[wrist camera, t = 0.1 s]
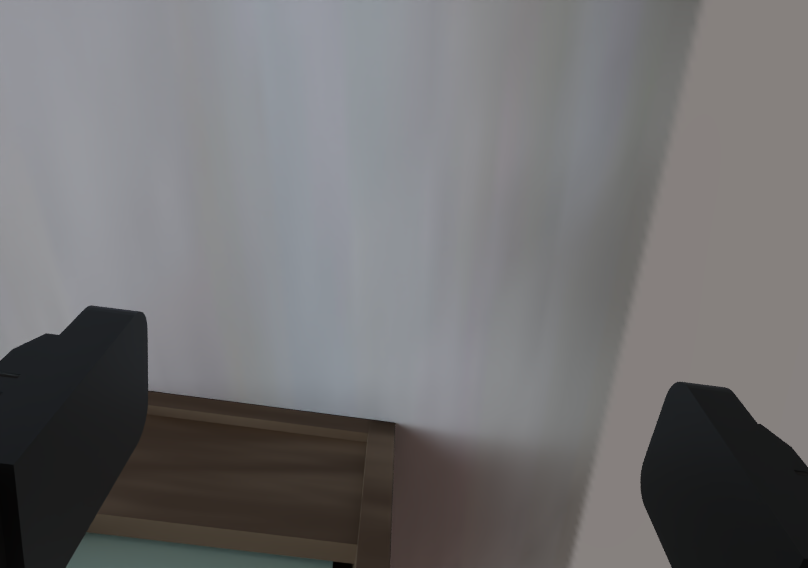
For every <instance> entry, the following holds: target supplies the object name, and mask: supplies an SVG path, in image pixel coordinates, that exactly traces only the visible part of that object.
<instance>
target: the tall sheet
mask: <svg viewBox="0 0 808 568" xmlns="http://www.w3.org/2000/svg"><path fill="white" fill-rule="evenodd" d="M332 567H333V561H326V560H317V559H309V558H300V557H292V556H283V555H275V554H266V553H258V552H249V551H241V550H232V549H224V548H215V547H207V546H198V545H190V544H182V543H173V542H165V541H156V540H148V539H139V538H131V537H122V536H114V535H105V534H97V533H88V532H86V534H85V535H84V537H83V539H82V540H81V542H80V544H79V546H78V547H77V549H76V551H75V552H74V554H73V556H72V558H71V559H70V561H69V563H68V565H67V566H66V568H332Z"/></svg>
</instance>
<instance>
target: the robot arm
mask: <svg viewBox="0 0 808 568" xmlns="http://www.w3.org/2000/svg"><path fill="white" fill-rule="evenodd" d="M147 409H148V337H147V321H146V317H145V315H144V313H142V312H138V311H131V310H123V309H115V308H107V307H99V306H88V307H87V308H85V309H84V310H83V311H82V312H81V313H80V314H79V315H78V316H77V317H76V319H75V320H74V321H73V322H72V323H71V324H70V325H69V326H68V327H67V328H66V329H65V330H64V331H63V332H62V333H61V334H60V335H54V334H44V335H42V336H40V337H38V338H36V339H33V340H31V341H29V342H27V343H25V344H23V345H21V346H19V347H17V348H14V349H12V350H11V351H10V352H9V353H8V354H7V355H6V356H5V357H4V358H3V359H2V360H1V361H0V568H66V566H67V565H68V563H69V561H70V559H71V558H72V556H73V554H74V552H75V551H76V549H77V547H78V546H79V544H80V542H81V540H82V539H83V537H84V535H85V534H86V532H87V530H88V528H89V527H90V525H91V523H92V522H93V520H94V518H95V516H96V515H97V513H98V511H99V509H100V508H101V506H102V504H103V503H104V501H105V499H106V497H107V496H108V494H109V492H110V491H111V489H112V487H113V485H114V484H115V482H116V480H117V479H118V477H119V475H120V473H121V472H122V470H123V468H124V467H125V465H126V463H127V461H128V460H129V458H130V456H131V454H132V453H133V451H134V449H135V448H136V446H137V444H138V442H139V440H140V438H141V435H142V432H143V429H144V425H145V421H146V416H147ZM641 494H642V499H643V503H644V506H645V508H646V510H647V513H648V515H649V517H650V519H651V521H652V524H653V526H654V528H655V530H656V533H657V535H658V537H659V539H660V542H661V544H662V546H663V549H664V551H665V553H666V555H667V557H668V560H669V562H670V564H671V567H672V568H808V467H807V466H806V465H805V463H804V462H803V461H802V460H801V458H800V457H799V456H798V455H797V453H796V452H795V451H794V450H793V449H792V447H790V446H789V445H788V444H786V443H785V442H783V441H782V440H781V439H780V438H779V437H777V436H776V435H775V434H773V433H772V432H771V431H769V430H768V429H767V428H765V427H764V426H763V425H761V424H757V422H756V421H755V420H754V418H753V417H752V416H751V415H750V413H749V412H748V411H747V410H746V408H745V407H744V406H743V404H742V403H741V402H740V401H739V399H738V398H737V397H736V395H735V394H734V393H733V392H732V391H731V390H730V389H728V388H725V387H716V386H709V385H701V384H693V383H686V382H677V383H675V384H673V386H671V388H670V389H669V391H668V393H667V395H666V398H665V401H664V404H663V407H662V410H661V412H660V415H659V419H658V421H657V424H656V427H655V430H654V433H653V436H652V438H651V441H650V444H649V447H648V450H647V453H646V456H645V459H644V462H643V466H642V470H641Z"/></svg>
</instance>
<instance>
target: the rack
mask: <svg viewBox="0 0 808 568" xmlns="http://www.w3.org/2000/svg"><path fill="white" fill-rule="evenodd" d="M394 443H395V423H390V422H383V421H375V420H367V419H359V418H352V417H344V416H336V415H329V414H321V413H313V412H305V411H298V410H290V409H282V408H274V407H267V406H259V405H251V404H243V403H236V402H228V401H220V400H213V399H205V398H197V397H189V396H182V395H174V394H166V393H158V392H151V391H148V409H147V416H146V421H145V425H144V429H143V432H142V435H141V438H140V440H139V442H138V444H137V446H136V448H135V449H134V451H133V453H132V454H131V456H130V458H129V460H128V461H127V463H126V465H125V467H124V468H123V470H122V472H121V473H120V475H119V477H118V479H117V480H116V482H115V484H114V485H113V487H112V489H111V491H110V492H109V494H108V496H107V497H106V499H105V501H104V503H103V504H102V506H101V508H100V509H99V511H98V513H97V515H96V516H95V518H94V520H93V522H92V523H91V525H90V527H89V528H88V530H87V532H88V533H97V534H105V535H114V536H122V537H131V538H139V539H148V540H156V541H165V542H173V543H182V544H190V545H198V546H207V547H215V548H224V549H232V550H241V551H249V552H258V553H266V554H275V555H283V556H292V557H300V558H309V559H317V560H326V561H333V567H332V568H390V550H391V523H392V496H393V470H394Z"/></svg>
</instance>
